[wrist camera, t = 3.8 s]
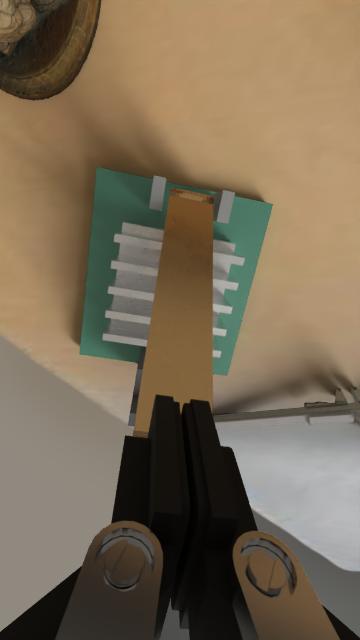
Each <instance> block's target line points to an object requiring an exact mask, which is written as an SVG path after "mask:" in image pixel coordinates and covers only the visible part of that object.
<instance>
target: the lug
mask: <svg viewBox="0 0 360 640" xmlns="http://www.w3.org/2000/svg"><path fill="white" fill-rule="evenodd" d="M145 352H146V347H145V346H141V350H140V356H139V362H138V367H137V374H136V380H135V386H134V392H133V398H132V404H131V410H130V416H129V423H128V426H134V424H135V418H136V411H137V405H138V398H139V392H140V385H141V378H142V372H143V365H144V359H145Z"/></svg>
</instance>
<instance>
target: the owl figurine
mask: <svg viewBox="0 0 360 640" xmlns="http://www.w3.org/2000/svg"><path fill="white" fill-rule="evenodd" d="M100 6H101V0H0V89H2V90H3V91H5V92H6V93H9V94H12V95H14V96H17V97H20V98H23V99H28V100H33V101H34V100H36V99H37V100H40V99H41V100H42V99H45V98H50V97H52V96H54V95H57V94H59V93H61V92H62V91H63V90H64V89H66V88H67V87H68V86H69V85H70V84H71V83H72V82H73V80H74V79H75V77H76V76H77V75H78V74H79V72H80V70H81V68H82V65H83V64H84V62H85V60H86V59H87V56H88V54H89V51H90V48H91V46H92V42H93V39H94V37H95V33H96V29H97V26H98V19H99V13H100Z"/></svg>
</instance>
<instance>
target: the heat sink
mask: <svg viewBox="0 0 360 640" xmlns="http://www.w3.org/2000/svg"><path fill="white" fill-rule="evenodd" d="M163 235H164V229H161V228H156V227H151V226H145V225H140V224H135V223H130V222H123V225H122V231H120V232H117V233H115V236H114V242H118V243H120V249H119V254H118V255H117V256H116V257H115V258H114V259H113V260H112V261H111V268H112V269H117V273H116V277H115V278H114V280H113V281H112V282H111V284H110V285H109V287H108V294H114V297H113V299H112V301H111V302H110V304H109V306H108V307H107V309H106V313H105V317H106V318H111V319H110V321H109V323H108V325H107V327H106V329H105V331H104V333H103V339H102V340H106V341H112V342H119V343H125V344H132V345H139V346H145V347H146V346H147V339H148V333H149V326H150V320H151V313H152V306H153V300H154V293H155V287H156V280H157V274H158V267H159V261H160V254H161V248H162V241H163ZM235 245H236V244H234V243H232V242H228V241H223V240H218V239H213V357H218V358H220V355H221V349H220V347H219V344H218V342H217V340H216V337H215V335H219V336H225V335H226V331H227V329H226V327H225V325H224V324H223V322H222V320H221V318H220V316H219V312H221V313H227V314H231V312H232V308H233V307H232V306H231V304H230V303H229V301H228V300H227V299H226V297H225V296H224V291H225V289H231V290H237V288H238V284H239V283H238V282H237V281H236V280H235V279H234V278H233V277H231V276H230V275H229V270H230V266H231V264H236V265H242V266H243V264H244V260H245V258H244V257H242V256H240V255H238V254H237V253H235V252H234V249H235Z"/></svg>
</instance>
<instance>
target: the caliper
mask: <svg viewBox="0 0 360 640" xmlns="http://www.w3.org/2000/svg"><path fill="white" fill-rule="evenodd" d="M351 394H352V396H353V398H354V400H355V402H356V403H351V404H348V403H347V400H346V398H345V396H344V394H343V392H341V389H336V397H335V403H327V402H315V403H304V407H302V408H291V409H280V410H269V411H257V412H245V413H233V414H221V415H213V419H214V423H215V426H216V430H217V429H230V428H243V427H256V426H269V425H282V424H294V423H307V422H308V423H309V424H310V425H316V424H331V423H347V422H353V419H356V420H358V421H359V424H360V390H359V389H358V388H357V387H351Z"/></svg>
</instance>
